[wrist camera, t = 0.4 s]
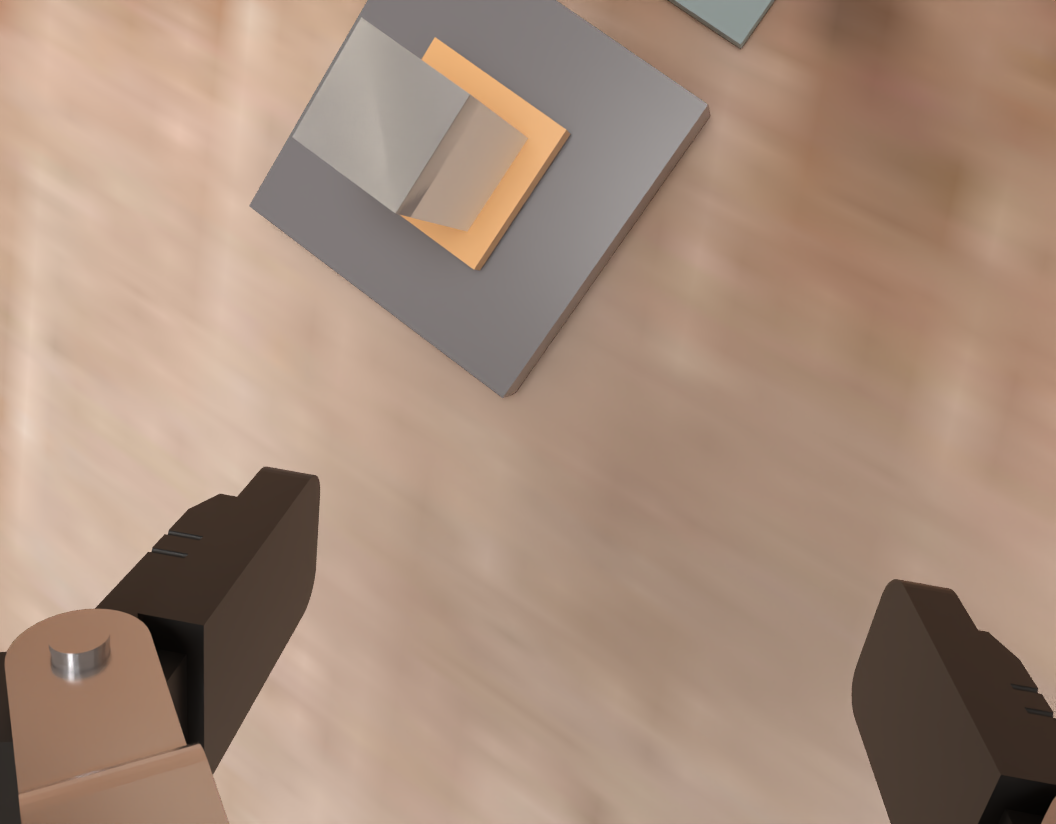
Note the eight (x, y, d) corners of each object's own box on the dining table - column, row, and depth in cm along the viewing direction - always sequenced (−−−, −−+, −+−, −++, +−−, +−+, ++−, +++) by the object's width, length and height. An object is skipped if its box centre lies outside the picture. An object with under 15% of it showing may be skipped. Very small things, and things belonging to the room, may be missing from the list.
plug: (460, 58, 35) (352, -34, 25) (581, 143, 34) (517, 82, 25) (381, 187, 36) (250, 146, 27) (495, 272, 36) (403, 261, 26)
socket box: (438, -71, 35) (421, -93, 33) (710, 115, 33) (708, 104, 31) (274, 210, 38) (249, 206, 36) (515, 392, 36) (502, 398, 34)
